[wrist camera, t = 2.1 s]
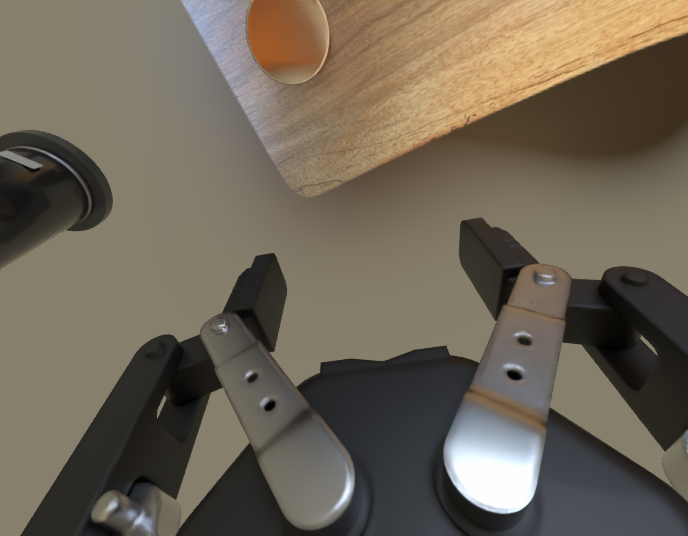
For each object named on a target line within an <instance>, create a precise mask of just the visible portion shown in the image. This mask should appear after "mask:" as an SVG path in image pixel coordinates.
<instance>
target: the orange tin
mask: <svg viewBox="0 0 688 536" xmlns="http://www.w3.org/2000/svg"><path fill="white" fill-rule="evenodd" d="M246 37H247V42H248V46H249V49H250V51H251V54H252V56H253V58H254V60H255V61H256V63H257V64H258V66H259V67H260V68H261V69H262V70H263V72H264V73H266V74H267V75H268V76H269V77H271V78H272V79H274V80H275V81H278V82H280V83H283V84H288V85H296V84H301V83H304V82H306V81H308V80H310V79H311V78H313V77H314V76H315V75H317V74H318V73H319V72H320V71H321V70H322V69H323V68H324V66H325V65H326V63H327V61H328V58H329V55H330V49H331V38H330V32H329V25H328V20H327V17H326V14H325V11H324V9H323V7H322V5H321V3H320V1H319V0H251V2H250V4H249V7H248V10H247V15H246Z"/></svg>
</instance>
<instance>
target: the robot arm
mask: <svg viewBox="0 0 688 536" xmlns="http://www.w3.org/2000/svg"><path fill="white" fill-rule="evenodd" d="M93 208H94V197H93V193H92V190H91V188H90V186H89V184H88V182H87V181H86V179H85V178H84V177H83V175H82V174H81V173H80V172H79V171H78V170H77V169H76V168H75V167H74V166H73V165H72V164H71V163H69V162H68V161H67V160H65V159H64V158H63V157H61V156H59V155H58V154H56V153H54V152H52V151H50V150H47V149H45V148H41V147H38V146H33V145H19V146H15V147H11V148H8V149H6V150H4V151H0V270H1V269H2V268H4V267H6V266H7V265H9V264H11V263H12V262H14V261H15V260H17V259H19V258H21V257H22V256H24V255H25V254H27V253H29V252H30V251H32V250H34V249H35V248H37V247H38V246H40V245H42V244H43V243H45V242H47V241H48V240H50V239H51V238H53V237H55V236H56V235H58V234H60V233H62V232H63V231H65V230H67V229H68V228H70V227H71V226H73V225H75V224H77V223H79V222H81V221H83V220H85V219H86V218H87V217H89V216H90V214H91V213H92V211H93ZM459 258H460V262H461V265H462V267H463V269H464V271H465V272H466V274H467V276H468V277H469V279H470V280H471V282H472V283H473V285H474V287H475V288H476V290H477V292H478V293H479V295H480V296H481V298H482V300H483V302H484V303H485V305H486V306H487V308H488V310H489V311H490V313H491V314H492V316H493V318H494V319H495V321H497V322H496V324H495V327H494V329H493V332H492V334H491V337H490V339H489V342H488V344H487V346H486V349H485V351H484V354H483V357H482V359H481V361H480V363H478V362H476V361H473V360H470V359H467V358H463V357H458V356H451V355H450V354H449V352H448V349H447V346H440V347H432V348H425V349H417V350H413V351H410V352H408V353H405V354H402V355H399V356H397V357H394V358H391V359H389V360H386V361H373V360H361V359H344V360H337V361H329V362H323V363H321V367H320V373H318V374H316V375H314V376H312V377H310V378H308V379H306V380H305V381H303V382H302V383H301V384H300V385H298V386H297V387H295V386H294V384H293V383H292V382H291V380H290V379H289V378H288V376H287V375H286V374H285V372H284V371H283V370H282V368H281V367H280V366H279V365H278V363H277V362H276V361H275V359H274V358H273V357H272V355H271V354H270V353H269V352H274V350H275V346H276V341H277V336H278V332H279V328H280V323H281V318H282V314H283V309H284V304H285V300H286V296H287V286H286V281H285V279H284V276H283V273H282V271H281V268H280V266H279V263H278V261H277V258H276V256H275V254H274V253H270V254H264V255H259V256H256V257H255V259H254V262H253V264H252V266H251V268H248V269H246V270H245V271H244V272H243V273H242V274H241V275H240V276H239V277H238V280H237V282H236V284H235V286H234V288H233V290H232V293H231V295H230V297H229V299H228V301H227V304H226V306H225V308H224V310H223V312H222V313H221V314H218V315H216V316H214V317H212V318H211V319H210V320H208V321H207V322H206V323H205V324H204V325H203V327H202V328H201V330H200V335H197V336H195V337H192V338H190V339H187V340H184V341H182V342H180V343H179V342H178V341H177V339H176V338H175V337H174V336H173V335H161V336H158V337H156V338H154V339H152V340H150V341H148V342H147V343H146V344H144V345H143V346H142V347H141V348H140V349H139V350H138V351H137V352H136V354H135V355H134V357H133V359H132V360H131V362H130V363H129V365H128V366H127V368H126V370H125V371H124V373H123V374H122V376H121V377H120V379H119V381H118V382H117V384H116V385H115V387H114V388H113V390H112V392H111V393H110V395H109V396H108V398H107V399H106V401H105V403H104V404H103V406H102V407H101V409H100V411H99V412H98V414H97V415H96V417H95V418H94V420H93V422H92V423H91V425H90V426H89V428H88V430H87V431H86V433H85V434H84V436H83V438H82V439H81V441H80V442H79V444H78V445H77V447H76V449H75V450H74V452H73V454H72V455H71V456H70V458H69V460H68V461H67V463H66V464H65V466H64V467H63V469H62V471H61V472H60V474H59V475H58V477H57V479H56V480H55V482H54V483H53V485H52V486H51V488H50V490H49V491H48V493H47V494H46V496H45V498H44V499H43V501H42V502H41V504H40V505H39V507H38V509H37V510H36V512H35V513H34V515H33V517H32V518H31V520H30V521H29V523H28V524H27V526H26V528H25V529H24V531H23V533H22V534H21V535H20V536H688V296H686V295H685V294H683V293H682V292H680V291H679V290H678V289H676V288H675V287H674V286H672V285H671V284H670V283H668V282H667V281H665V280H664V279H663V278H661V277H660V276H658V275H656V274H654V273H652V272H650V271H647V270H644V269H640V268H635V267H627V266H619V267H613V268H609V269H608V270H606V271H605V272H604V274H603V276H602V279H601V280H586V279H572V278H571V276H570V275H569V274H568V273H567V272H566V271H565V270H563V269H561V268H559V267H556V266H553V265H548V264H540V263H539V262H538V261H537V260H536V259H535V258H534V257H532V255H531V254H530V253H529V252H528V251H527V250H526V249H525V248H523V247H522V246H521V245H520V244H519V243H518V242H517V241H516V240H515V239H514V238H513V237H512V236H511V235H510V234H509V233H508V232H507V231H505V230H502V229H500V228H498V227H492V228H491V227H490V226H489V225H488V224H487V222H486V221H484V219H483V218H475V219H469V220H463V221H462V222H461V225H460V242H459ZM641 335H642V336H643V337H644V338H645V339H646V340H648V342H649V343H650V344H651V345H652V346H653V347H654V348H655V350H656V352H657V354H658V356H657V355H656V354H655V353H654V352H653V351H652V350H651V349H650V348H649V347H648V346H647V345H646V344H645V343H644V342H643V341H642V340H641V339H640V337H641ZM562 342H563V343H572V344H581V345H582V346H583V347H584V348H585V350H586V351H587V352H588V353H589V355H590V356H591V357H592V359H593V360H594V361H595V363H596V364H597V365H598V366H599V368H600V369H601V370H602V371H603V373H604V374H605V375H606V377H607V378H608V379H609V381H610V382H611V383H612V384H613V386H614V387H615V388H616V389H617V391H618V392H619V393H620V395H621V396H622V397H623V398H624V400H625V401H626V402H627V404H628V405H629V406H630V408H631V409H632V410H633V411H634V413H635V414H636V415H637V416H638V418H639V419H640V420H641V422H642V423H643V424H644V425H645V427H646V428H647V429H648V431H649V432H650V433H651V434H652V436H653V437H654V438H655V440H656V441H657V442H658V443H659V445H660V446H661V447H662V448H663V450H664V451H665V453H664V454H663V457H662V466H663V470H664V472H665V475H666V476H667V478H668V480H669V481H670V483H671V485H672V487H671V486H669V485H668V484H667V483H665V482H664V481H662V480H661V479H659V478H658V477H656V476H655V475H654V474H652V473H651V472H649V471H648V470H646V469H645V468H643V467H641V466H640V465H638V464H637V463H635V462H634V461H632V460H630V459H629V458H628V457H626V456H624V455H623V454H621V453H620V452H618V451H617V450H615V449H614V448H612V447H611V446H609V445H607V444H606V443H604V442H602V441H601V440H600V439H598V438H596V437H595V436H593V435H592V434H590V433H589V432H587V431H586V430H584V429H583V428H581V427H580V426H578V425H577V424H575V423H573V422H572V421H570V420H569V419H567V418H566V417H564V416H563V415H561V414H559V413H558V412H556V411H555V410H553V409H552V408H550V402H551V397H552V392H553V387H554V381H555V376H556V371H557V366H558V360H559V356H560V350H561V345H562ZM220 388H223V389H224V391H225V393H226V394H227V397H228V399H229V401H230V403H231V405H232V407H233V409H234V411H235V413H236V415H237V417H238V419H239V421H240V423H241V425H242V427H243V429H244V431H245V433H246V435H247V437H248V439H249V441H250V443H249V444H248V445H247V446H246V447H245V449H244V450H243V451H242V452H241V454H240V455H239V456H238V457H237V458H236V460H235V461H234V462H233V463H232V465H231V466H230V467H229V468H228V469H227V471H226V472H225V473H224V474H223V475H222V477H221V478H220V479H219V480H218V482H217V483H216V484H215V485H214V486H213V488H212V489H211V490H210V491H209V492H208V494H207V495H206V496H205V497H204V499H203V500H202V501H201V502H200V504H199V505H198V506H197V507H196V508H195V509H194V511H193V512H192V513H191V514H190V516H189V517H188V518H187V519H186V521H185V522H184V523H183V525H182V526H181V527H180V529H179V526H180V521H181V508H180V505H179V503H178V502H177V501H176V498H177V495H178V492H179V489H180V486H181V483H182V480H183V477H184V474H185V470H186V468H187V464H188V462H189V458H190V455H191V452H192V449H193V446H194V443H195V440H196V437H197V434H198V431H199V428H200V424H201V421H202V418H203V415H204V412H205V409H206V406H207V403H208V400H209V396H210V393H211V392H213V391H216V390H218V389H220ZM163 396H165V397H166V398H167V399H166V401H165V403H164V406H163V408H162V410H161V412H160V415H159V417H158V419H157V410H158V407H159V405H160V403H161V401H162V398H163Z"/></svg>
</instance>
